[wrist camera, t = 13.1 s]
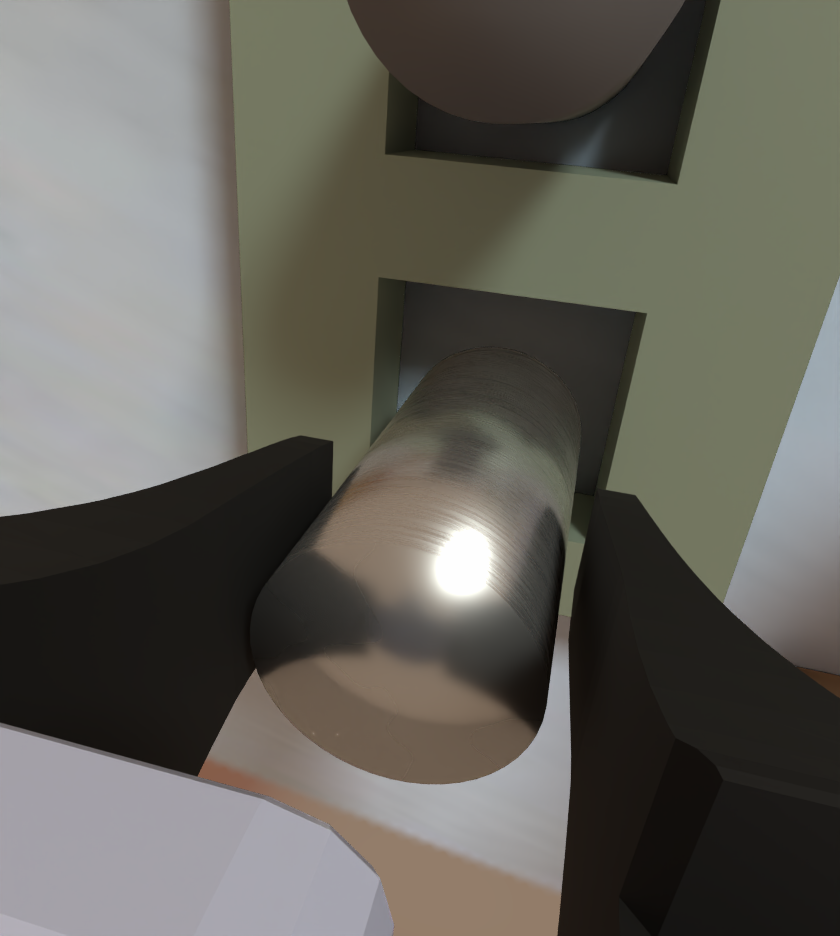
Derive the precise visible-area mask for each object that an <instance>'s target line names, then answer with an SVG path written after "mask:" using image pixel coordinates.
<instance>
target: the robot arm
mask: <svg viewBox="0 0 840 936" xmlns="http://www.w3.org/2000/svg"><path fill="white" fill-rule="evenodd" d="M332 481H333V441H330V440H324V439H319V438H313V437H307V436H302V435H300V436H295V437H291V438H288V439H285V440H282V441H279V442H276V443H274V444H271V445H268V446H266V447H263V448H260V449H258V450H255V451H253V452H250V453H247V454H245V455H242V456H240V457H237V458H234V459H232V460H229V461H227V462H224V463H221V464H219V465H216V466H214V467H211V468H208V469H205V470H202V471H199V472H196V473H193V474H190V475H187V476H184V477H181V478H179V479H176V480H173V481H170V482H167V483H164V484H161V485H157V486H154V487H151V488H147V489H144V490H140V491H136V492H133V493H129V494H125V495H121V496H116V497H112V498H108V499H104V500H100V501H95V502H90V503H85V504H79V505H74V506H68V507H62V508H56V509H51V510H45V511H39V512H33V513H27V514H20V515H11V516H3V517H0V936H393V931H394V923H393V920H392V916H391V913H390V910H389V907H388V903H387V900H386V896H385V893H384V890H383V887H382V883H381V880H380V877H379V876H378V874H377V873H376V871H375V870H374V868H373V867H372V865H371V864H370V863H368V862H367V861H366V860H365V859H364V858H363V857H362V856H361V855H360V854H359V853H358V852H357V851H356V850H355V849H354V848H353V847H352V846H351V845H350V844H349V843H348V842H347V841H346V840H345V839H344V838H343V837H342V836H341V835H340V834H339V833H338V832H337V831H336V830H335V829H334V828H333V827H332V826H331V825H329V824H328V823H326V822H323V821H321V820H319V819H317V818H315V817H312V816H310V815H308V814H306V813H304V812H302V811H300V810H297V809H295V808H293V807H291V806H289V805H286V804H284V803H282V802H280V801H278V800H276V799H273V798H271V797H269V796H266V795H262V794H259V793H255V792H251V791H248V790H244V789H240V788H237V787H233V786H229V785H226V784H222V783H218V782H215V781H211V780H208V779H204V778H200V777H197V776H198V774H199V772H200V770H201V768H202V766H203V764H204V762H205V760H206V758H207V755H208V753H209V751H210V749H211V747H212V745H213V743H214V742H215V740H216V738H217V736H218V734H219V732H220V730H221V728H222V726H223V724H224V722H225V720H226V718H227V716H228V714H229V712H230V710H231V708H232V706H233V704H234V703H235V701H236V699H237V697H238V696H239V694H240V692H241V691H242V689H243V687H244V686H245V684H246V682H247V681H248V679H249V677H250V676H251V674H252V673H253V671H254V670H255V668H256V666H255V663H254V660H253V655H252V650H251V644H250V625H251V617H252V612H253V609H254V606H255V603H256V600H257V598H258V596H259V594H260V592H261V590H262V588H263V587H264V586H265V584H266V583H267V582H268V580H269V579H270V578H271V576H272V575H273V574H274V573H275V571H276V570H277V569H278V567H279V566H280V565H281V563H282V562H283V561H284V559H285V558H286V557H287V556H288V554H289V553H290V552H291V550H292V549H293V548H294V546H295V545H296V544H297V543H298V541H299V540H300V539H301V537H302V536H303V535H304V533H305V532H306V531H307V529H308V528H309V527H310V526H311V524H312V523H313V522H314V520H315V519H316V518H317V516H318V515H319V514H320V512H321V511H322V510H323V509H324V507H325V506H326V505H327V503H328V502H329V501H330V499H331V498H332ZM569 686H570V725H571V787H570V800H569V812H568V824H567V836H566V848H565V860H564V871H563V882H562V893H561V904H560V905H561V906H560V915H559V926H558V936H840V698H839V697H837V696H836V695H834V694H833V693H831V692H830V691H829V690H827V689H826V688H824V687H823V686H821V685H820V684H818V683H817V682H816V681H814V680H813V679H812V678H810V677H809V676H808V675H806V674H805V673H804V672H802V671H801V670H800V669H798V668H797V667H796V666H794V665H793V664H792V663H790V662H789V661H788V660H786V659H785V658H784V657H782V656H781V655H780V654H779V653H778V652H776V651H775V650H774V649H773V648H771V647H770V646H769V645H768V644H767V643H765V642H764V641H763V640H762V639H761V638H760V637H758V636H757V635H756V634H755V633H754V632H753V631H752V630H751V629H750V628H748V627H747V626H746V625H745V624H744V623H743V622H742V621H741V620H740V619H738V618H737V617H736V616H735V615H734V614H733V613H732V612H731V611H730V610H729V609H728V608H727V607H726V606H725V605H724V604H723V603H722V602H721V601H720V600H719V599H718V598H717V597H716V596H715V595H714V594H713V593H712V592H711V591H710V589H709V588H708V587H707V586H706V585H705V584H704V583H703V582H702V581H701V580H700V579H699V578H698V576H697V575H696V574H695V573H694V572H693V571H692V569H691V568H690V567H689V566H688V565H687V564H686V562H685V561H684V560H683V559H682V557H681V556H680V555H679V554H678V553H677V551H676V550H675V549H674V547H673V546H672V545H671V544H670V542H669V541H668V540H667V538H666V537H665V536H664V534H663V533H662V532H661V530H660V529H659V527H658V526H657V525H656V523H655V522H654V520H653V519H652V518H651V516H650V515H649V513H648V512H647V510H646V509H645V508H644V506H643V505H642V503H641V502H640V500H639V499H638V498H637V496H636V495H632V494H627V493H621V492H616V491H610V490H604V489H599V488H597V491H596V495H595V500H594V504H593V508H592V513H591V517H590V521H589V526H588V530H587V535H586V539H585V543H584V548H583V552H582V557H581V561H580V565H579V570H578V574H577V579H576V583H575V587H574V594H573V603H572V612H571V621H570V631H569Z"/></svg>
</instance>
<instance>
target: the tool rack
mask: <svg viewBox="0 0 840 936" xmlns="http://www.w3.org/2000/svg"><path fill="white" fill-rule="evenodd" d="M684 1H685V0H229V6H230V30H231V55H232V80H233V104H234V129H235V153H236V178H237V202H238V227H239V252H240V276H241V301H242V325H243V350H244V375H245V399H246V424H247V448H248V453H250V452H253V451H255V450H258V449H260V448H263V447H266V446H268V445H271V444H274V443H276V442H279V441H282V440H285V439H288V438H291V437H295V436H300V435H302V436H307V437H313V438H319V439H324V440H330V441H333V481H332V497H333V495H334V494H335V493H336V492H337V490H338V489H339V488H340V486H341V485H342V484H343V482H344V481H345V480H346V478H347V477H348V476H349V475H350V473H351V472H352V471H353V469H354V468H355V467H356V465H357V464H358V463H359V461H360V460H361V459H362V458H363V456H364V455H365V454H366V452H367V451H368V450H369V448H370V447H371V446H372V444H373V443H374V442H375V441H376V439H377V438H378V437H379V435H380V434H381V433H382V431H383V430H384V429H385V428H386V426H387V425H388V424H389V422H390V421H391V420H392V418H393V417H394V416H395V414H396V413H397V399H398V385H399V370H400V356H401V341H402V327H403V312H404V298H405V283H406V281H411V282H419V283H426V284H434V285H441V286H448V287H456V288H463V289H471V290H478V291H485V292H493V293H500V294H508V295H515V296H523V297H530V298H537V299H545V300H552V301H560V302H567V303H575V304H582V305H589V306H597V307H604V308H612V309H619V310H627V311H634V312H636V313H635V317H634V322H633V326H632V330H631V335H630V339H629V344H628V348H627V353H626V357H625V361H624V366H623V370H622V375H621V379H620V383H619V388H618V392H617V397H616V401H615V405H614V410H613V414H612V419H611V423H610V427H609V432H608V436H607V441H606V445H605V450H604V454H603V458H602V463H601V467H600V472H599V476H598V480H597V485H596V489H595V494H594V496H591V495H585V494H580V493H574V499H573V507H572V515H571V522H570V530H569V537H568V545H567V553H566V560H565V568H564V576H563V583H562V591H561V599H560V606H559V614H558V615H563V616H568V617H571V612H572V603H573V594H574V587H575V583H576V579H577V574H578V570H579V565H580V561H581V557H582V552H583V548H584V543H585V539H586V535H587V530H588V526H589V521H590V517H591V513H592V508H593V504H594V500H595V495H596V491H597V488H599V489H604V490H610V491H616V492H621V493H627V494H632V495H636V496H637V498H638V499H639V500H640V502H641V503H642V505H643V506H644V508H645V509H646V510H647V512H648V513H649V515H650V516H651V518H652V519H653V520H654V522H655V523H656V525H657V526H658V527H659V529H660V530H661V532H662V533H663V534H664V536H665V537H666V538H667V540H668V541H669V542H670V544H671V545H672V546H673V547H674V549H675V550H676V551H677V553H678V554H679V555H680V556H681V557H682V559H683V560H684V561H685V562H686V564H687V565H688V566H689V567H690V568H691V569H692V571H693V572H694V573H695V574H696V575H697V576H698V578H699V579H700V580H701V581H702V582H703V583H704V584H705V585H706V586H707V587H708V588H709V589H710V591H711V592H712V593H713V594H714V595H715V596H716V597H717V598H718V599H719V600H720V601H721V602H722V603H723V601H724V599H725V596H726V593H727V590H728V587H729V585H730V582H731V579H732V576H733V573H734V571H735V568H736V565H737V562H738V559H739V556H740V554H741V551H742V548H743V545H744V542H745V540H746V537H747V534H748V531H749V528H750V526H751V523H752V520H753V517H754V514H755V512H756V509H757V506H758V503H759V500H760V498H761V495H762V492H763V489H764V486H765V484H766V481H767V478H768V475H769V472H770V470H771V467H772V464H773V461H774V458H775V456H776V453H777V450H778V447H779V444H780V441H781V439H782V436H783V433H784V430H785V427H786V425H787V422H788V419H789V416H790V413H791V411H792V408H793V405H794V402H795V399H796V397H797V394H798V391H799V388H800V385H801V383H802V380H803V377H804V374H805V371H806V369H807V366H808V363H809V360H810V357H811V355H812V352H813V349H814V346H815V343H816V341H817V338H818V335H819V332H820V329H821V326H822V324H823V321H824V318H825V315H826V312H827V310H828V307H829V304H830V301H831V298H832V296H833V293H834V290H835V287H836V284H837V282H838V279H839V276H840V0H706V4H705V9H704V13H703V17H702V22H701V26H700V31H699V35H698V39H697V44H696V48H695V53H694V57H693V61H692V66H691V70H690V75H689V79H688V84H687V88H686V92H685V97H684V101H683V106H682V110H681V114H680V119H679V123H678V128H677V132H676V136H675V141H674V145H673V150H672V154H671V158H670V163H669V167H668V172H667V175H660V174H650V173H640V172H630V171H620V170H610V169H601V168H591V167H581V166H571V165H561V164H551V163H541V162H532V161H522V160H512V159H502V158H492V157H482V156H473V155H463V154H453V153H443V152H433V151H423V150H415V139H416V124H417V110H418V97H419V98H421V99H422V100H424V101H425V102H427V103H428V104H430V105H432V106H434V107H436V108H438V109H440V110H442V111H444V112H446V113H449V114H452V115H455V116H458V117H461V118H464V119H467V120H472V121H478V122H484V123H490V124H523V123H546V122H560V121H568V120H571V119H575V118H579V117H581V116H584V115H586V114H589V113H591V112H593V111H595V110H596V109H598V108H600V107H602V106H603V105H605V104H606V103H607V102H609V101H610V100H611V99H613V98H614V97H615V96H616V95H617V94H618V93H619V92H620V91H621V90H622V89H623V88H625V86H626V85H627V84H628V83H629V82H630V80H631V79H632V78H633V77H634V76H635V74H636V73H637V71H638V70H639V69H640V67H641V66H642V64H643V63H644V61H645V60H646V59H647V57H648V56H649V54H650V53H651V51H652V50H653V49H654V47H655V46H656V44H657V43H658V41H659V40H660V39H661V37H662V36H663V34H664V33H665V31H666V30H667V28H668V27H669V25H670V24H671V22H672V21H673V19H674V18H675V16H676V15H677V13H678V12H679V10H680V9H681V7H682V5H683V3H684Z"/></svg>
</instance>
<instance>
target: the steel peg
mask: <svg viewBox="0 0 840 936" xmlns="http://www.w3.org/2000/svg"><path fill="white" fill-rule="evenodd" d="M581 434H582V431H581V420H580V415H579V411H578V408H577V405H576V403H575V400H574V398H573V396H572V394H571V393H570V391H569V389H568V388H567V386H566V385H565V384H564V382H563V381H562V380H561V379H560V378H559V377H558V376H557V375H556V373H555V372H554V371H552V370H551V369H550V368H549V367H547V366H546V365H545V364H543V363H542V362H540V361H538V360H537V359H535V358H533V357H531V356H529V355H527V354H524V353H522V352H519V351H515V350H512V349H507V348H501V347H479V348H472V349H468V350H464V351H461V352H458V353H456V354H453V355H451V356H449V357H447V358H446V359H444V360H442V361H441V362H439V363H438V364H437V365H435V366H434V367H433V368H432V369H431V370H430V371H429V372H428V373H427V374H426V375H425V377H424V378H423V379H422V380H421V382H420V383H419V384H418V386H417V387H416V388H415V390H414V391H413V392H412V394H411V395H410V396H409V397H408V399H407V400H406V401H405V403H404V404H403V405H402V407H401V408H400V409H399V411H398V412H397V413H396V414H395V416H394V417H393V418H392V420H391V421H390V422H389V424H388V425H387V426H386V428H385V429H384V430H383V431H382V433H381V434H380V435H379V437H378V438H377V439H376V441H375V442H374V443H373V444H372V446H371V447H370V448H369V450H368V451H367V452H366V454H365V455H364V456H363V458H362V459H361V460H360V461H359V463H358V464H357V465H356V467H355V468H354V469H353V471H352V472H351V473H350V475H349V476H348V477H347V478H346V480H345V481H344V482H343V484H342V485H341V486H340V488H339V489H338V490H337V492H336V493H335V494H334V495H333V497H332V498H331V499H330V501H329V502H328V503H327V505H326V506H325V507H324V509H323V510H322V511H321V512H320V514H319V515H318V516H317V518H316V519H315V520H314V522H313V523H312V524H311V526H310V527H309V528H308V529H307V531H306V532H305V533H304V535H303V536H302V537H301V539H300V540H299V541H298V543H297V544H296V545H295V546H294V548H293V549H292V550H291V552H290V553H289V554H288V556H287V557H286V558H285V559H284V561H283V562H282V563H281V565H280V566H279V567H278V569H277V570H276V571H275V573H274V574H273V575H272V576H271V578H270V579H269V580H268V582H267V583H266V584H265V586H264V587H263V588H262V590H261V592H260V594H259V596H258V598H257V600H256V603H255V606H254V609H253V612H252V617H251V625H250V644H251V650H252V655H253V660H254V663H255V666H256V669H257V672H258V674H259V676H260V679H261V681H262V683H263V685H264V687H265V689H266V690H267V692H268V694H269V695H270V697H271V698H272V700H273V702H274V703H275V704H276V705H277V707H278V708H279V709H280V711H281V712H282V713H283V714H284V716H285V717H286V718H287V719H288V720H289V721H290V722H291V723H292V724H293V725H294V726H295V727H296V728H297V729H298V730H299V731H301V732H302V733H303V734H304V735H305V736H306V737H307V738H309V739H310V740H311V741H313V742H314V743H315V744H317V745H318V746H319V747H321V748H322V749H324V750H325V751H327V752H329V753H330V754H332V755H334V756H335V757H337V758H339V759H340V760H342V761H344V762H347V763H349V764H351V765H353V766H355V767H357V768H360V769H362V770H365V771H367V772H370V773H372V774H376V775H379V776H382V777H386V778H389V779H394V780H399V781H404V782H410V783H420V784H450V783H460V782H465V781H469V780H474V779H478V778H481V777H483V776H486V775H489V774H492V773H494V772H496V771H498V770H500V769H501V768H503V767H505V766H507V765H508V764H509V763H511V762H512V761H514V760H515V759H516V758H518V757H519V756H520V755H521V754H522V753H523V752H524V751H525V750H526V749H527V748H528V746H529V745H530V744H531V742H532V741H533V739H534V738H535V736H536V735H537V733H538V731H539V728H540V726H541V724H542V722H543V718H544V714H545V710H546V706H547V698H548V690H549V683H550V675H551V667H552V660H553V652H554V644H555V637H556V629H557V622H558V614H559V606H560V599H561V591H562V583H563V576H564V568H565V560H566V553H567V545H568V537H569V530H570V522H571V515H572V507H573V499H574V492H575V484H576V476H577V469H578V461H579V453H580V446H581Z"/></svg>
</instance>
